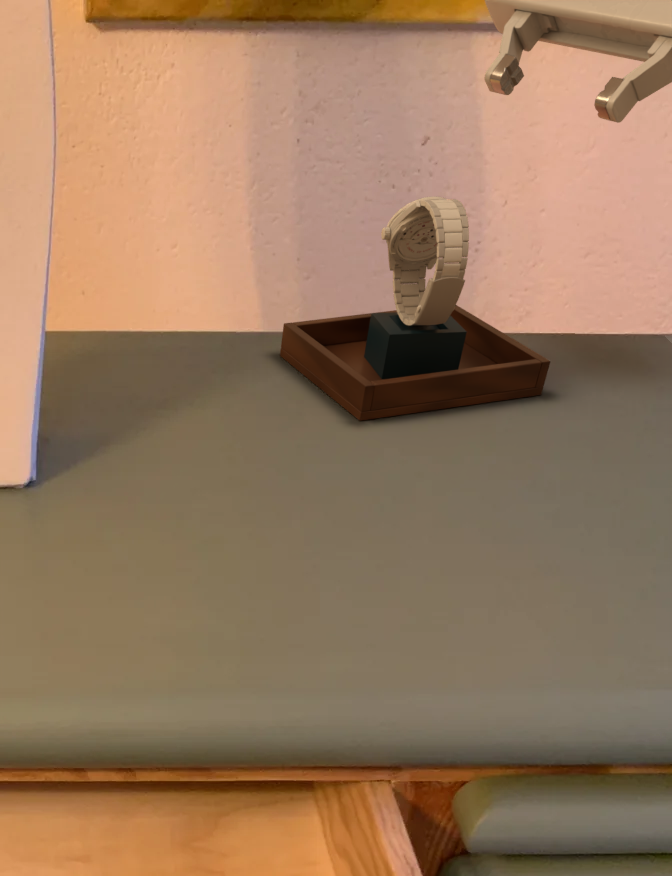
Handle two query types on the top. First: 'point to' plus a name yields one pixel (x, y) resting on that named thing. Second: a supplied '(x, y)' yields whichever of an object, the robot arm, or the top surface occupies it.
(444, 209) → the watch
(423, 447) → the top surface
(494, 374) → the tray
